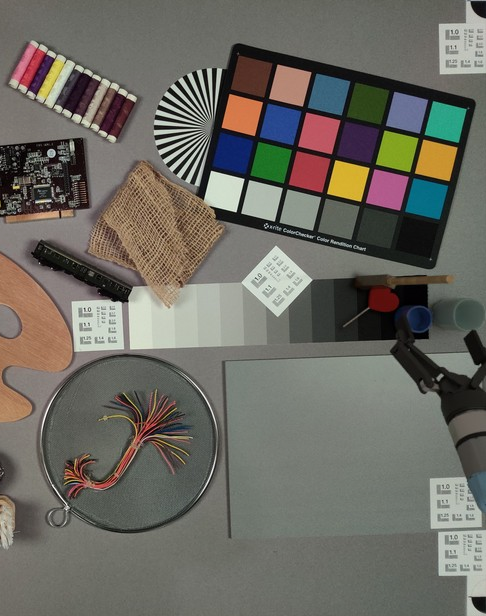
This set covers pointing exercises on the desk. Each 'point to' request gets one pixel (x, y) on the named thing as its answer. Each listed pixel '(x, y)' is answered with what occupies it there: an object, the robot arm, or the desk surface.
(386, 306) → the lollipop
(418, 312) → the bowl
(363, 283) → the block
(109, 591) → the desk surface
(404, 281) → the stick
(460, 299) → the cup
